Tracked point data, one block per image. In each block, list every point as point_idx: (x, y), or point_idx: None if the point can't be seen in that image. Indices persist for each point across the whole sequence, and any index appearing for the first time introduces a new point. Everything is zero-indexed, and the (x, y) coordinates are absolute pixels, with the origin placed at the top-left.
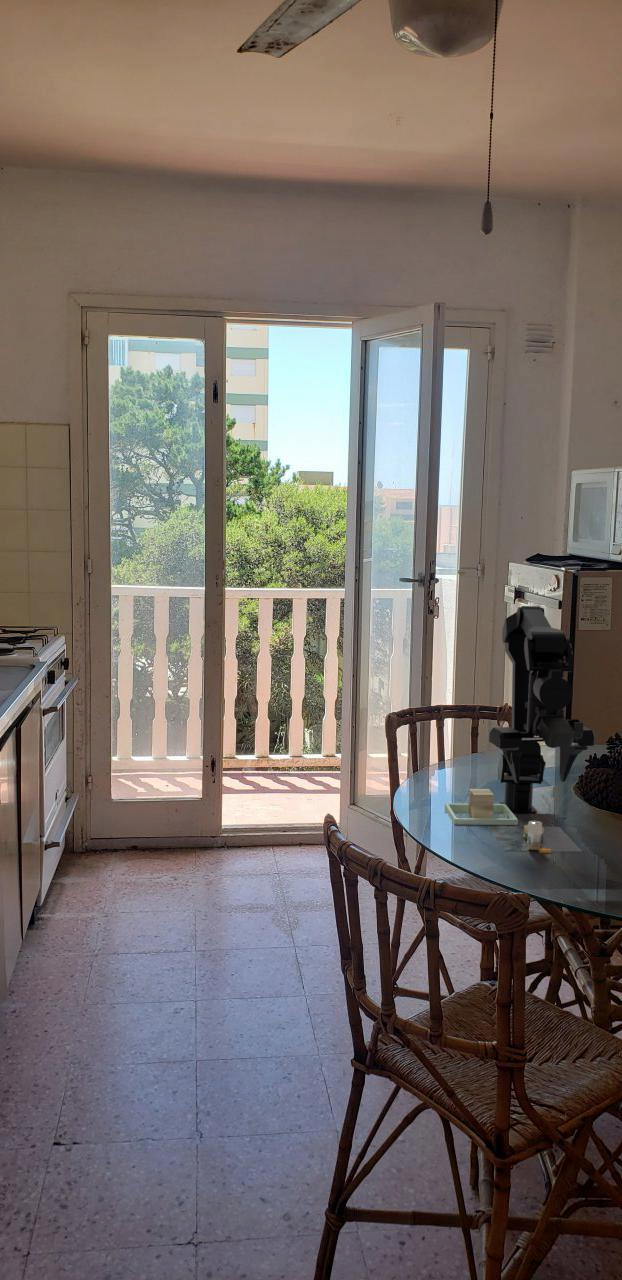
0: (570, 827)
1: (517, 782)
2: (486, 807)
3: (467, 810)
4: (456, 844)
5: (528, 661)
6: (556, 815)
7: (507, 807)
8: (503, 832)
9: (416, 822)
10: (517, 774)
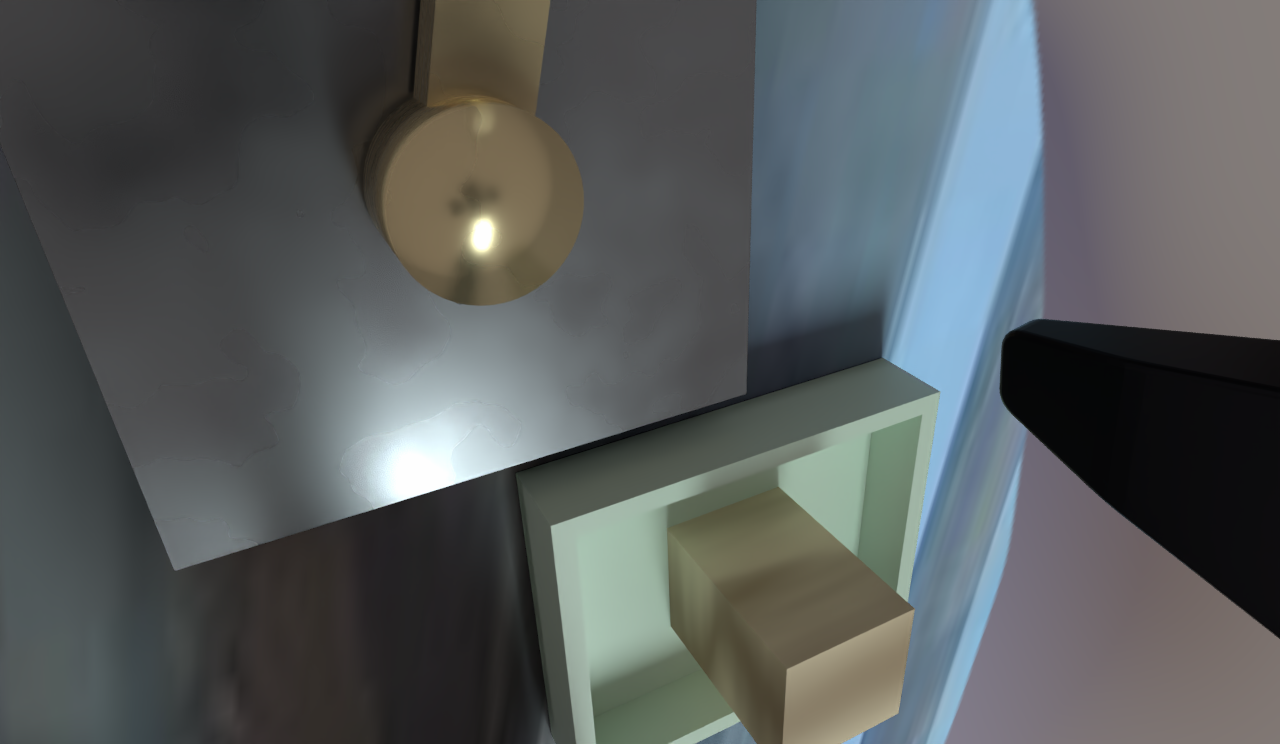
0: (61, 731)
1: (1041, 324)
2: (770, 582)
3: None
4: (933, 119)
5: None
6: None
7: (580, 741)
8: (670, 290)
9: (997, 449)
10: (1206, 346)
